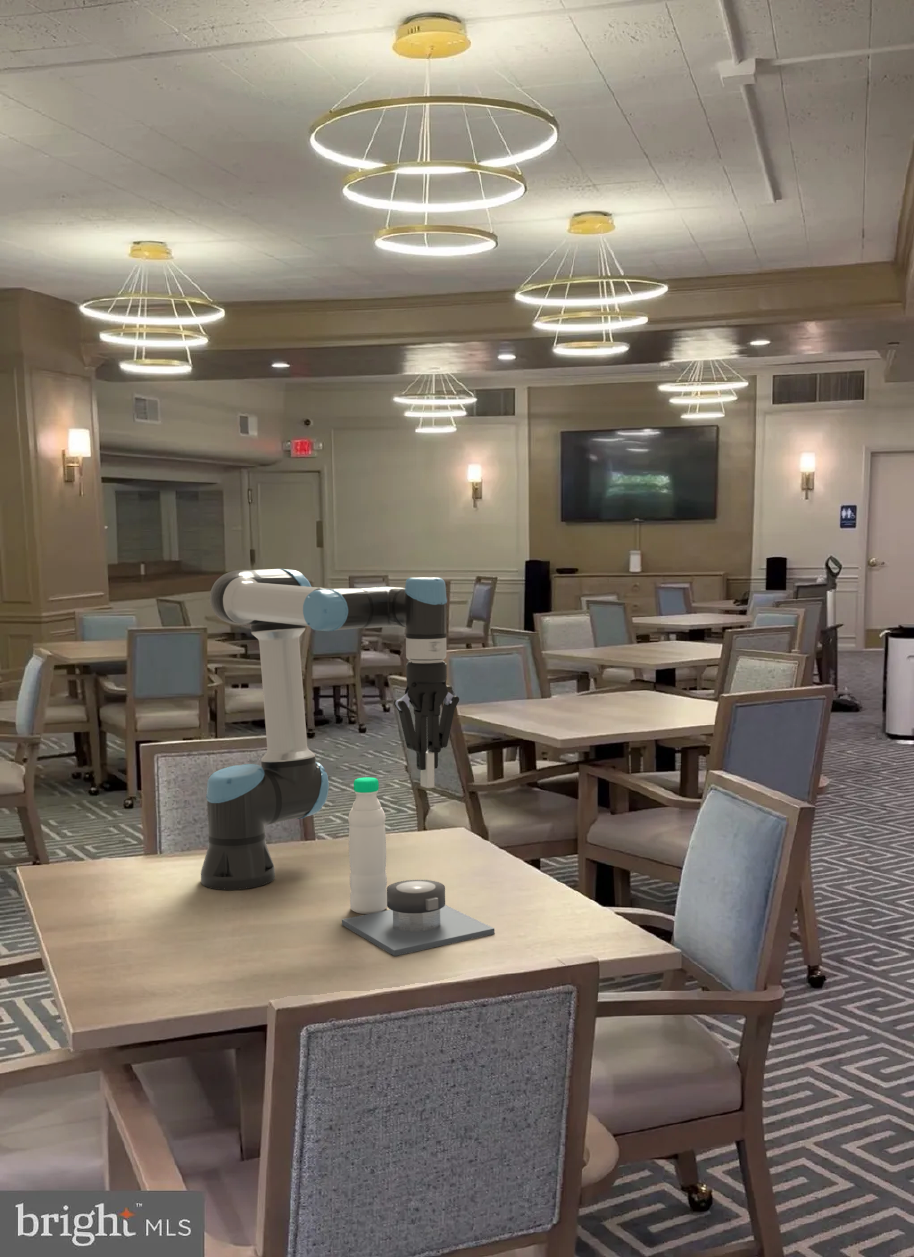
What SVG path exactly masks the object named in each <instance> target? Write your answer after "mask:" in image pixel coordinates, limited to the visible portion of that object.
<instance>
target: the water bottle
mask: <svg viewBox="0 0 914 1257" xmlns="http://www.w3.org/2000/svg"><path fill="white" fill-rule="evenodd" d="M379 783H380V782H379V779H378V778H376V777H369V776H368V777H367V776H365V777H358V778H356V779H354V781H353V791H354V794H355V800H354V801H353V803H352V807H351V809H350V811H349V814H348V816H347V817H348V818H347V821H348V824H349V829H348V858H349V869H350V873H349V887H350V893H349V894H350V896H349V897H350V898H349V907H350V909H351V911H353V912H354V913H357V914H362V915H366V914H371V913H376V912H382V911H386V909H387V908H388V907H387V887H388V886H387V885H388V881H387V880H388V876H387V872H386V870H387V869H386V867H387V837H386V836H387V835H386V825H385V822H386V821H387V820H386V819H387V818H386V813H385V811H384V808H383V807H382V805H381V802H380V801H379V799H378V797H377V796H378V795H377V794H378V793H379V789H380V786H379V785H380V784H379Z"/></svg>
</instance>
